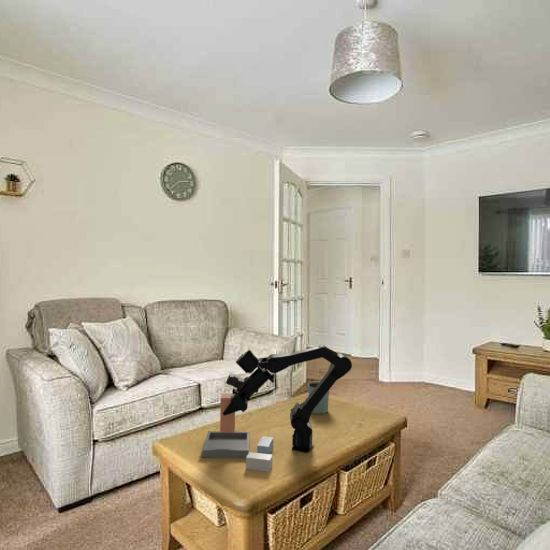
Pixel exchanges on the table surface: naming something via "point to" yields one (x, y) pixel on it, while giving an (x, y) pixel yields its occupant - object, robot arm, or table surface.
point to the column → (228, 420)
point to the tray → (226, 445)
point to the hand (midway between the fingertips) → (224, 411)
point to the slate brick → (265, 445)
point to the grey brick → (259, 461)
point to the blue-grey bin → (323, 404)
